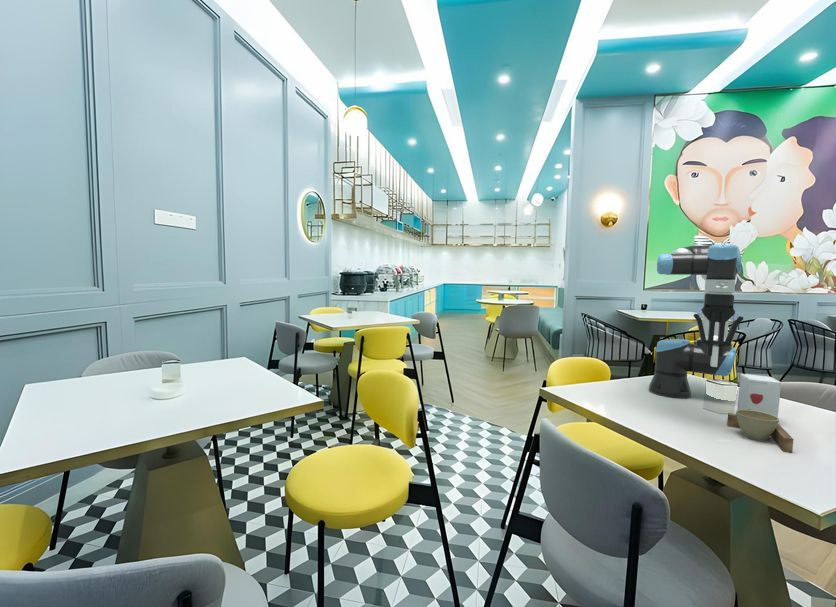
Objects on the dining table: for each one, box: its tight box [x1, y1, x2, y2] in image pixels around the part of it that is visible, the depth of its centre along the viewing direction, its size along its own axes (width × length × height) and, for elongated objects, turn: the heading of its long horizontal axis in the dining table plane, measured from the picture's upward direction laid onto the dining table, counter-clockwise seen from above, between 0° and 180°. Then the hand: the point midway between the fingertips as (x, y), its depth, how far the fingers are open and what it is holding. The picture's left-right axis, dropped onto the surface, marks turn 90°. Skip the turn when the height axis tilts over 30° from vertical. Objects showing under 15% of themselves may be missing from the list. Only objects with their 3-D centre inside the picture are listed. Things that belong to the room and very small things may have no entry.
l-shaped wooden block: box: [726, 412, 794, 454], centre depth 120 cm, size 12×18×4 cm, turn 149°
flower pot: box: [735, 409, 780, 442], centre depth 120 cm, size 10×10×7 cm
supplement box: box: [736, 373, 782, 418], centre depth 137 cm, size 9×9×15 cm
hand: (713, 365), depth 126 cm, fingers closed
